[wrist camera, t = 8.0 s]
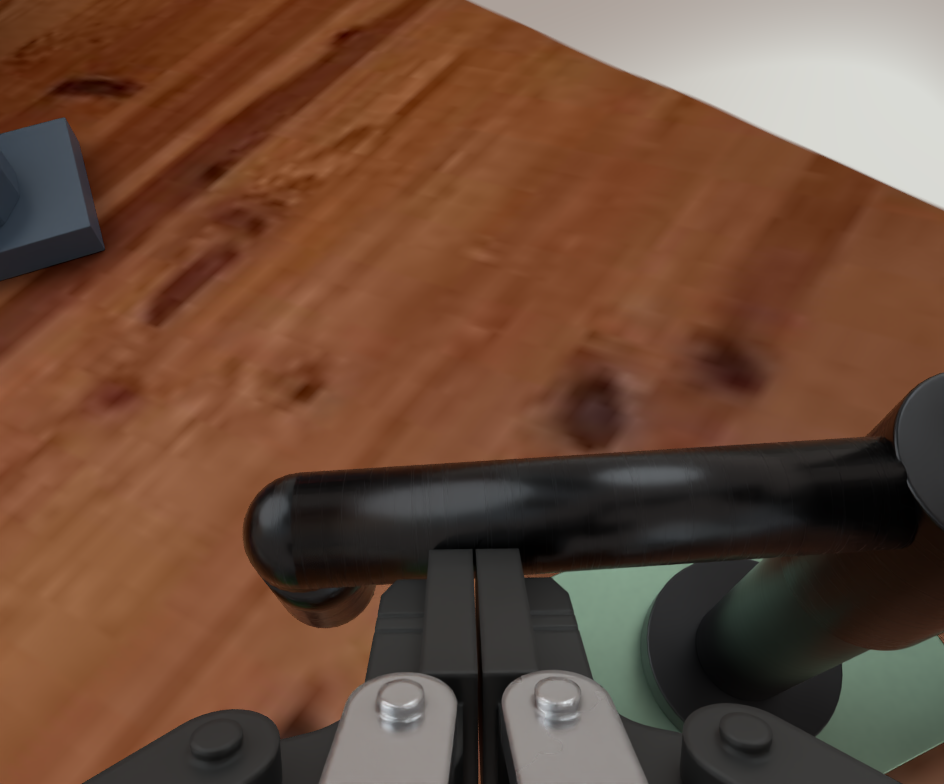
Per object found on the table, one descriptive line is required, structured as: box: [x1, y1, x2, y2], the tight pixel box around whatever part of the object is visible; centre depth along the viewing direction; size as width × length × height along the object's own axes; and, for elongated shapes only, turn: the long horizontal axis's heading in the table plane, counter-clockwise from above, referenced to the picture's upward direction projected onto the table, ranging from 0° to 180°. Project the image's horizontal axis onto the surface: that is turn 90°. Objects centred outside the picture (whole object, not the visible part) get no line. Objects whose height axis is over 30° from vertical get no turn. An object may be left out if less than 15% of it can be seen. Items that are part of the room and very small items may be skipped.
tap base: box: [552, 557, 944, 774], centre depth 23 cm, size 14×10×11 cm
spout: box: [243, 373, 944, 651], centre depth 15 cm, size 15×4×6 cm, turn 94°
